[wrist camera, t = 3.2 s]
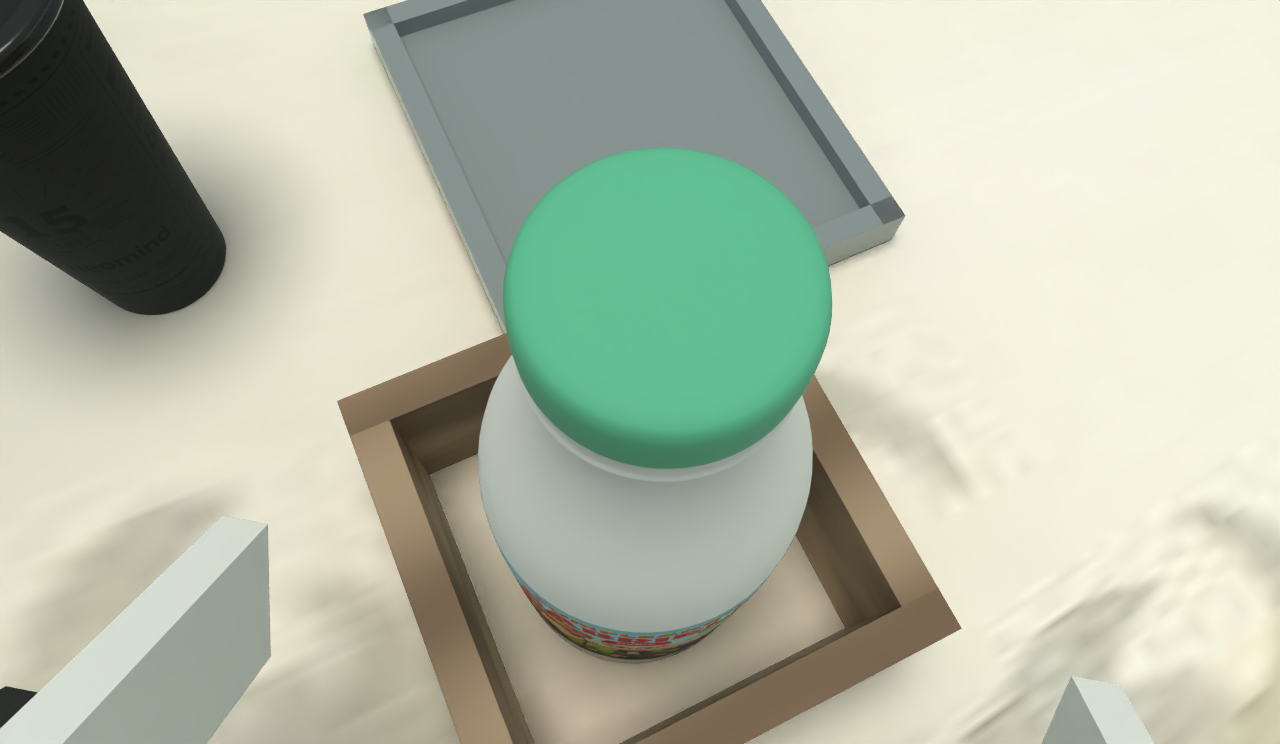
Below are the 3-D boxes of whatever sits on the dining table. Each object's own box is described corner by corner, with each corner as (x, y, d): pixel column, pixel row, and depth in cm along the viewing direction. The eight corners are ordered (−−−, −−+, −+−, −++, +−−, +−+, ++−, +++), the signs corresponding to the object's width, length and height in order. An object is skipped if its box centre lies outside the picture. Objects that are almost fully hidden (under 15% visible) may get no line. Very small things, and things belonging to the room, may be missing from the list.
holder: (385, 458, 31) (337, 401, 25) (715, 320, 33) (736, 241, 28) (527, 837, 26) (506, 868, 21) (893, 645, 29) (961, 628, 23)
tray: (374, 45, 38) (363, 14, 36) (695, -59, 41) (699, -92, 39) (529, 390, 32) (524, 372, 30) (891, 239, 35) (905, 215, 33)
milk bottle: (503, 469, 31) (346, 96, 12) (709, 424, 32) (849, 13, 13) (545, 690, 28) (422, 637, 10) (768, 634, 29) (1049, 486, 11)
